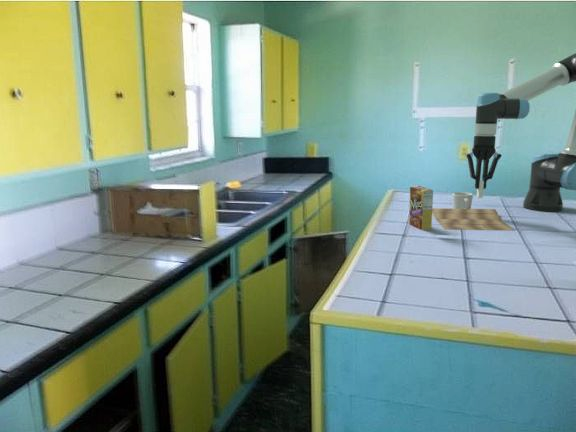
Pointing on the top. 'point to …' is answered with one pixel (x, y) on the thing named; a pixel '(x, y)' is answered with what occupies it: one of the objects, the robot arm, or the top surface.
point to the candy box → (420, 207)
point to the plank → (466, 214)
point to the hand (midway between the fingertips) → (479, 197)
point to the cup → (462, 200)
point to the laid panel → (474, 224)
